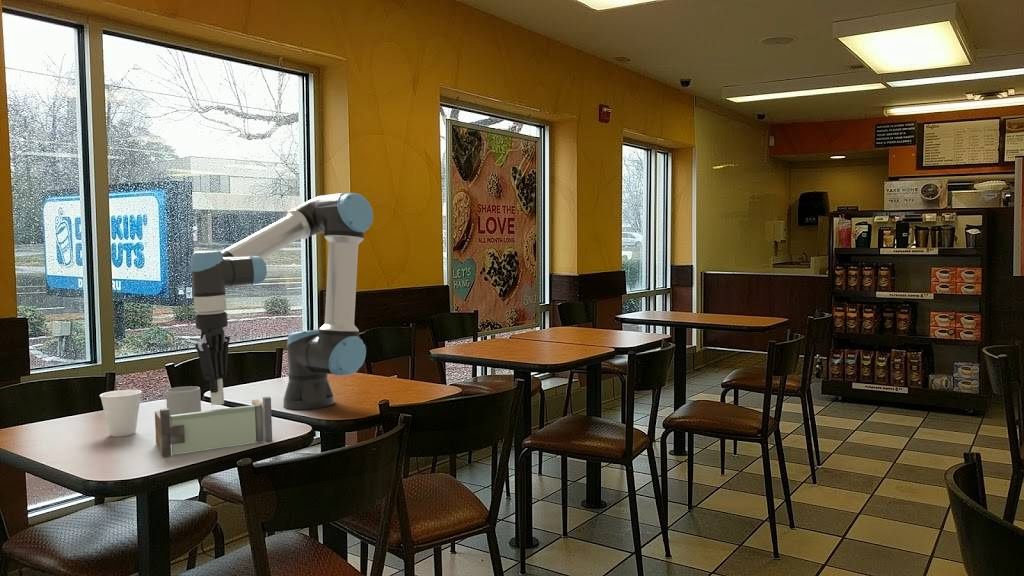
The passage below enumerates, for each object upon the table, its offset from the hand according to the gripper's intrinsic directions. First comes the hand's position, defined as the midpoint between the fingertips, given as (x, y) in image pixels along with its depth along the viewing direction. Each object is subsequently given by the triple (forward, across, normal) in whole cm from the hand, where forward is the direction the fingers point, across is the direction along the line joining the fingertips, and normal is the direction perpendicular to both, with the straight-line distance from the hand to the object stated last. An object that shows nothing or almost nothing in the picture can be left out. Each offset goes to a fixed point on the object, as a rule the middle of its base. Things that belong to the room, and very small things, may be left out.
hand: (217, 404), depth 192 cm
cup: (+9, -2, -28) cm, 30 cm away
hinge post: (+9, -2, +10) cm, 14 cm away
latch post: (+8, +12, -6) cm, 16 cm away
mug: (+9, -10, -16) cm, 20 cm away
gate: (+8, +10, +5) cm, 14 cm away
